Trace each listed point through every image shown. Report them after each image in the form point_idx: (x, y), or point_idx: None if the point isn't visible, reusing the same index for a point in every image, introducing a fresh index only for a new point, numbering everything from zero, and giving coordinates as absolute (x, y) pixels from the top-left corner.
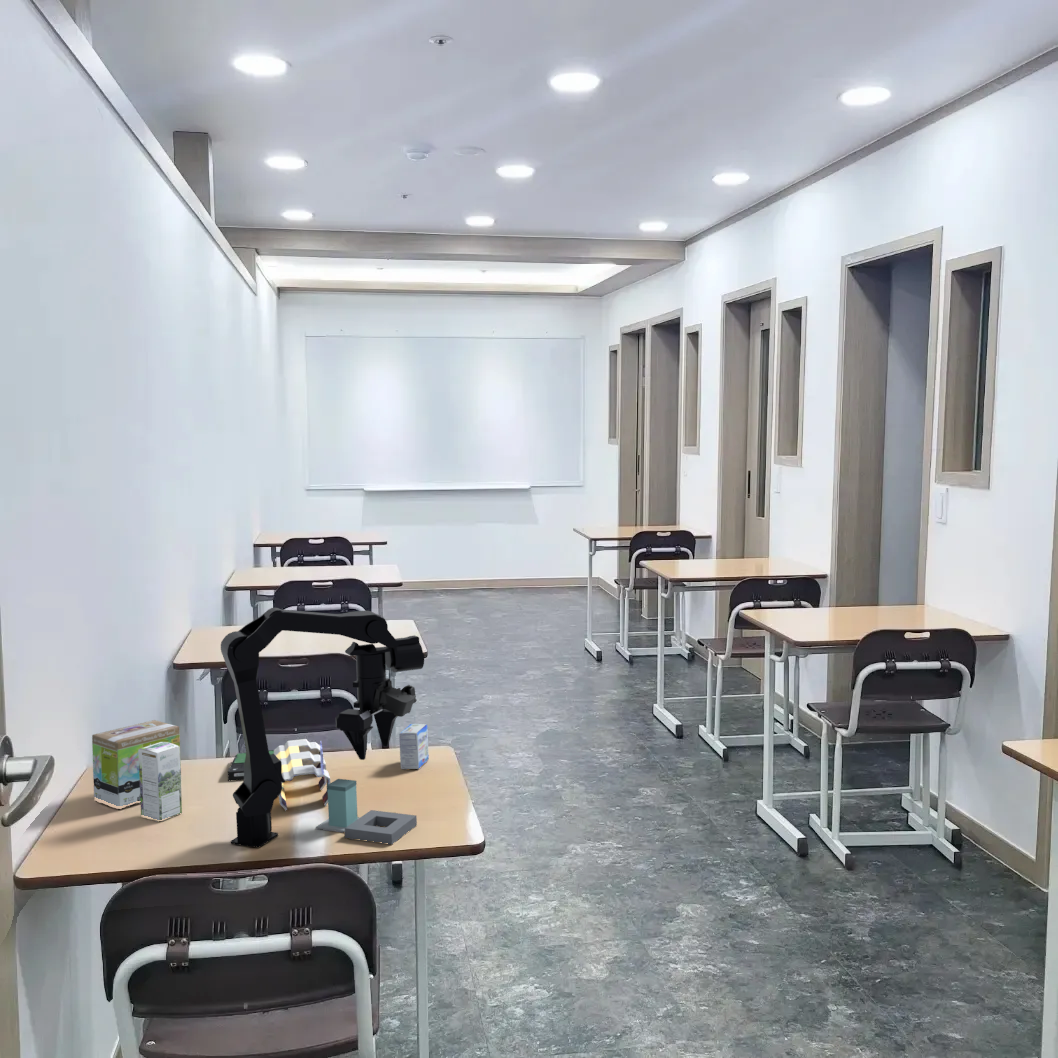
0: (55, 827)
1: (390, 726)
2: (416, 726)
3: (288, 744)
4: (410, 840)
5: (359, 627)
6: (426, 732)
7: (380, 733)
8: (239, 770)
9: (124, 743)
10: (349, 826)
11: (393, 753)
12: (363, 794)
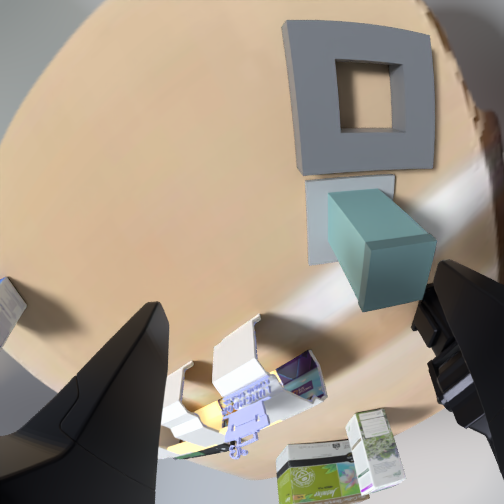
0: (397, 432)
1: (98, 407)
2: None
3: (172, 456)
4: (375, 4)
5: None
6: None
7: (159, 400)
8: (223, 446)
9: (362, 497)
10: (422, 162)
11: (12, 346)
12: (157, 292)
